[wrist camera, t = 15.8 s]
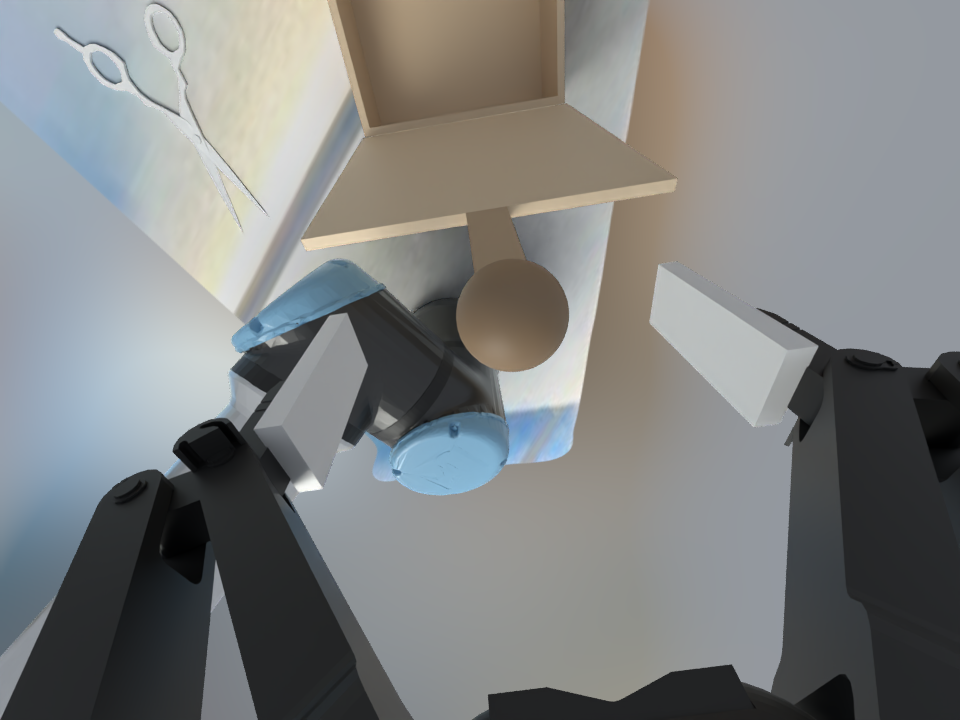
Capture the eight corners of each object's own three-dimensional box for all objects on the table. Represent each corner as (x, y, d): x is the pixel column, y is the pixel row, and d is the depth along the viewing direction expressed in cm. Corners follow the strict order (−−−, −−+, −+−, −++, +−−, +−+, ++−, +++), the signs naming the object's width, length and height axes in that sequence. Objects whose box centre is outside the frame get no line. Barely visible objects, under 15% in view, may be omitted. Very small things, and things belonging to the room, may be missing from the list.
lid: (567, 82, 29) (565, 131, 32) (357, 118, 30) (371, 163, 32) (893, 246, 8) (811, 351, 11) (164, 359, 9) (248, 434, 11)
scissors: (146, -26, 29) (294, 211, 40) (153, -23, 30) (297, 209, 41) (52, 30, 31) (219, 244, 41) (60, 32, 31) (222, 242, 42)
